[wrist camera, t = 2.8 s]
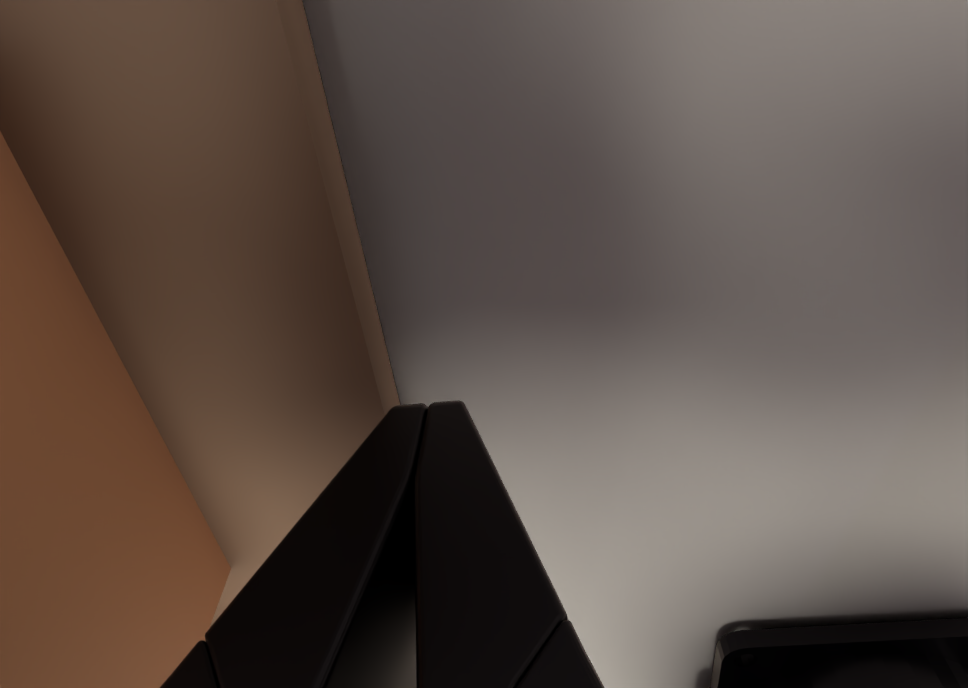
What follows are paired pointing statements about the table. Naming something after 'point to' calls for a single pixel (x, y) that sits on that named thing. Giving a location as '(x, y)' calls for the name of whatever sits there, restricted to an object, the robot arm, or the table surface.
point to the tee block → (85, 487)
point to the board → (207, 239)
